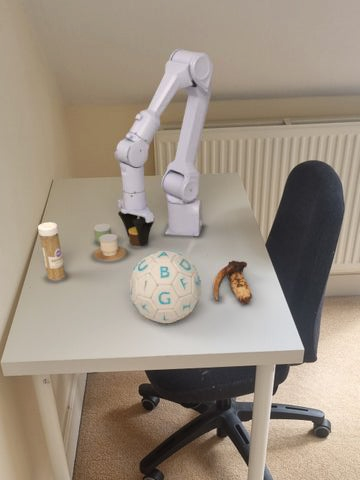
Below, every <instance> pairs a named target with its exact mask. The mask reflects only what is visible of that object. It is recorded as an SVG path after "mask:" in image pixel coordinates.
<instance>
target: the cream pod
mask: <svg viewBox="0 0 360 480" xmlns="http://www.w3.org/2000/svg"><path fill="white" fill-rule="evenodd" d="M99 240H100V243H99V244H100V249H101V250H102V251H103V255H105V256H113V255H116V254H117V249H118V247H119V243H118V235H116V234H114V233H111V234H105V235H102V236H100V237H99Z"/></svg>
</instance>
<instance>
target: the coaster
mask: <svg viewBox="0 0 360 480" xmlns="http://www.w3.org/2000/svg"><path fill="white" fill-rule="evenodd" d="M126 254H127V251H126V249H125V248H123V247H121V246H118V249H117V254H116V255H113V256H105V255H103V251H102V250H101V248H98V249H97V250H95V252H94V253H93V255H94V257H95V258H96V259H99V260H102V261H114V260H119V259H121V258H123V257H124V256H125V255H126Z"/></svg>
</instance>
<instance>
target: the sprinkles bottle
mask: <svg viewBox="0 0 360 480" xmlns="http://www.w3.org/2000/svg"><path fill="white" fill-rule="evenodd" d="M37 231H38V235H39V237H40V243H41V250H42V255H43V261H44V267H45V269H46V270H45V271H46V275H47V279H48V280H53V281H54V280H56V281H57V280H61V279H63V278H65V277H66V273H65V267H64V259H63V253H62V250H61V242H60V238H59V228H58V224H57V223H56V222H51V221H48V222H42V223H40V224H38V226H37Z"/></svg>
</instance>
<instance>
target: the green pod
mask: <svg viewBox="0 0 360 480" xmlns="http://www.w3.org/2000/svg"><path fill="white" fill-rule="evenodd" d="M93 232H94V238H95V241H96V242H97V243H99V244H100V240H99V237H100V236H102V235H105V234H112V226H111V224H109V223H98V224H95V225H94V226H93Z"/></svg>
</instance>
